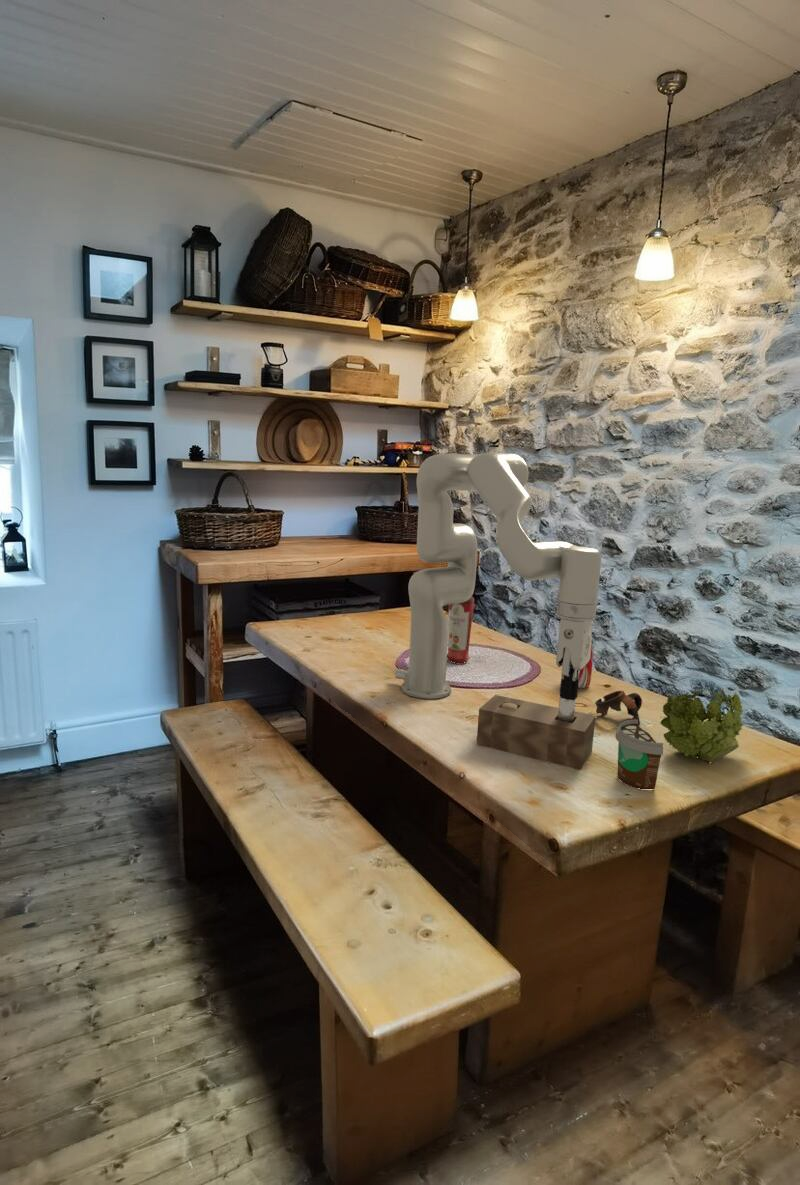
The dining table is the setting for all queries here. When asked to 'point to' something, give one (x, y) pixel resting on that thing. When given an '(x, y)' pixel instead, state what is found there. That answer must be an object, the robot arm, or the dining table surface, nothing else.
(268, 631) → the dining table surface
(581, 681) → the soda can
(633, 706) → the brown curved piece
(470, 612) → the liquor
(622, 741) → the food container
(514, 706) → the beech peg
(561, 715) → the steel peg
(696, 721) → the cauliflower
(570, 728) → the walnut block
